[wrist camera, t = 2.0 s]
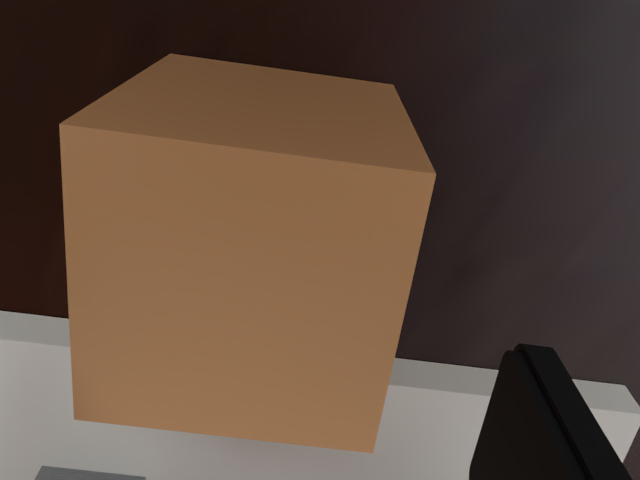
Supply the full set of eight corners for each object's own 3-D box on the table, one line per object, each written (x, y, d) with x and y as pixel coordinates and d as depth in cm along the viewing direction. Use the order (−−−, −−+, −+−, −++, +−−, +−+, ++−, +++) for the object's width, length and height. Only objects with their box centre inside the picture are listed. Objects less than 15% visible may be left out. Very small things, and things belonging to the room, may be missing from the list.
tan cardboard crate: (170, 53, 17) (59, 123, 10) (393, 84, 17) (436, 174, 10) (164, 253, 19) (74, 419, 12) (357, 277, 20) (373, 453, 13)
